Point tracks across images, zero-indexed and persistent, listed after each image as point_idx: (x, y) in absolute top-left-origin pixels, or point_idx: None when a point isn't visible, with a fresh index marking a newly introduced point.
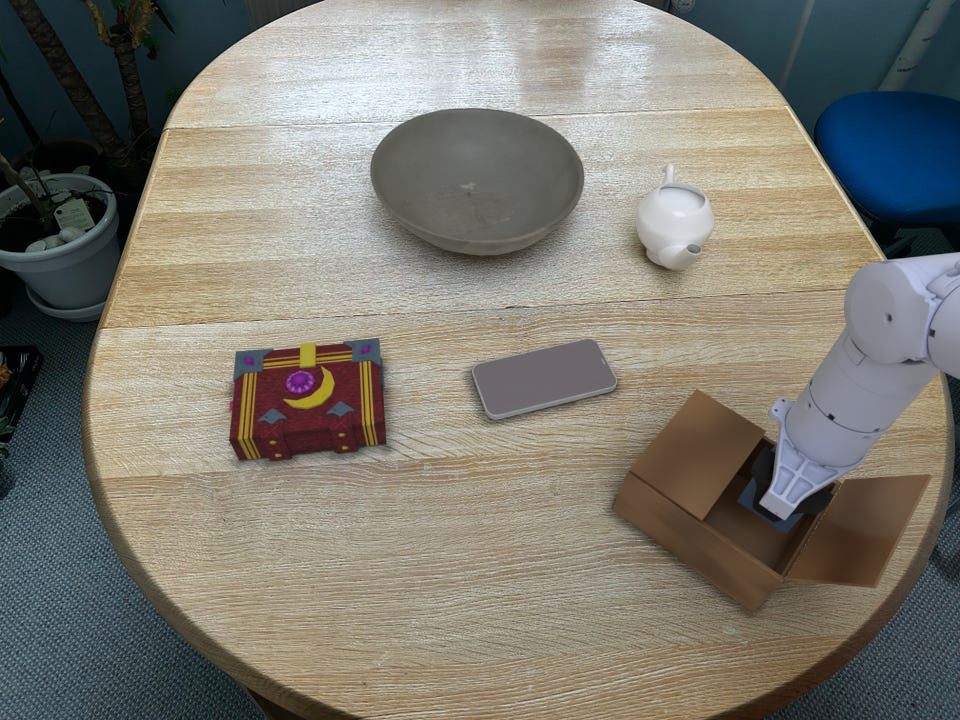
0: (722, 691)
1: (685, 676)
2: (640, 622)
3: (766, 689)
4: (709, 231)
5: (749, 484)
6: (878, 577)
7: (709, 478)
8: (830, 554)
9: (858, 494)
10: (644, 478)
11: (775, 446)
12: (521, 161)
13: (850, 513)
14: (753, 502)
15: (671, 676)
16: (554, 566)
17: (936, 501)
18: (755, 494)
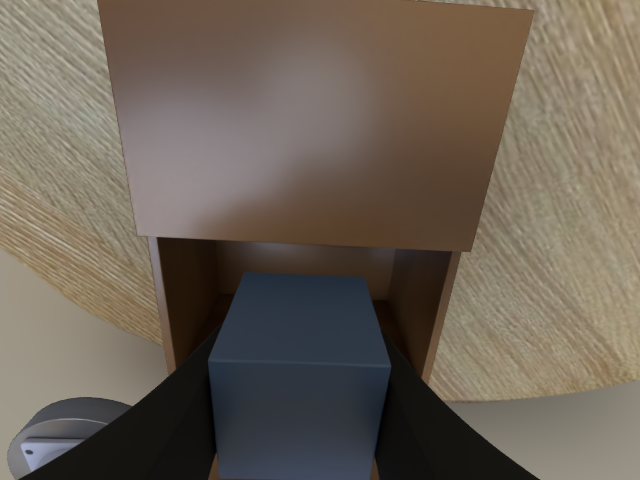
0: (104, 305)
1: (78, 265)
2: (80, 185)
3: (148, 338)
4: None
5: (222, 326)
6: None
7: (248, 199)
8: (215, 473)
9: None
10: (106, 42)
11: (359, 366)
12: None
13: None
14: (211, 333)
15: (62, 252)
16: (17, 2)
17: (504, 399)
18: (181, 364)
